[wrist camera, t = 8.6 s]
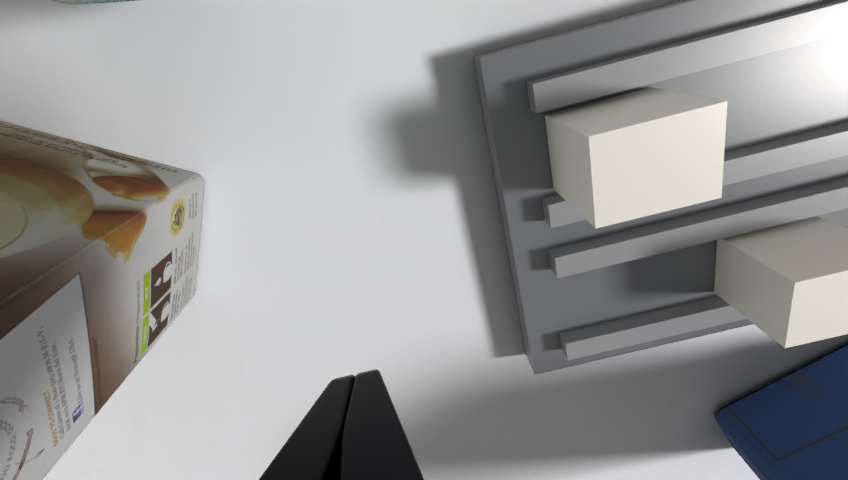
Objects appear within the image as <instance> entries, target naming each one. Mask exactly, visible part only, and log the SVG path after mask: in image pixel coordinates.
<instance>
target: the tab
mask: <svg viewBox="0 0 848 480" xmlns="http://www.w3.org/2000/svg"><path fill="white" fill-rule="evenodd" d="M714 293H715V294H717V295H718V296H719V297H720V298H722V299H723V300H724V301H725V302H727V303H728V304H729V305H730V306H732V307H733V308H734V309H736V310H737V311H738V312H739V313H741V314H742V315H743V316H744V317H746V318H747V319H748V320H749V321H751V322H752V323H753V324H755V325H756V326H757V327H758V328H760V329H761V330H762V331H763V332H765V333H766V334H767V335H768V336H770V337H771V338H772V339H774V340H775V341H776V342H777V343H779V344H780V345H781V346H782V347H784V348H789V347H793V346H797V345H802V344H806V343H811V342H815V341H819V340H824V339H828V338H833V337H837V336H841V335H846V334H848V229H847V228H844V227H842V226H840V225H837V224H835V223H832V222H830V221H828V220H825V219H823V218H820V217H818V216H814V217H810V218H806V219H802V220H797V221H793V222H789V223H785V224H781V225H777V226H773V227H768V228H764V229H760V230H756V231H752V232H748V233H743V234H739V235H735V236H731V237H727V238H723V239H719V240H717V248H716V265H715V282H714Z"/></svg>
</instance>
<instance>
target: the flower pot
mask: <svg viewBox="0 0 848 480" xmlns="http://www.w3.org/2000/svg"><path fill="white" fill-rule="evenodd" d="M54 1H57V2H61V3H66V4H74V5H76V4H86V3H108V2H121V1H135V0H54Z"/></svg>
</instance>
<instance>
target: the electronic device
mask: <svg viewBox="0 0 848 480" xmlns="http://www.w3.org/2000/svg"><path fill="white" fill-rule="evenodd" d="M715 419H716V420H717V422H718V424H719V425H720V427H721V428H722V430H723V432H724V433H725V435H726V437H727V438H728V440H729V441H730V443H731V445H732V446H733V448H734V449H735V450H736V451H737V452H738V454H739V455H740V456H741V457H742V458H743V460H744V461H745V462H746V463H747V464H748V466H749V467H750V468H751V469H752V470H753V472H754V473H755V474H756V475H757V477H758V478H759V479H760V480H848V345H847V346H845V347H843V348H841V349H839V350H837V351H835V352H833V353H831V354H829V355H827V356H825V357H823V358H821V359H819V360H817V361H816V362H814V363H812V364H810V365H808V366H806V367H804V368H802V369H800V370H798V371H796V372H794V373H792V374H790V375H788V376H786V377H784V378H782V379H780V380H778V381H776V382H774V383H772V384H770V385H768V386H766V387H765V388H763V389H761V390H759V391H757V392H755V393H753V394H751V395H749V396H747V397H745V398H743V399H741V400H739V401H737V402H735V403H733V404H731V405H729V406H727V407H725V408H723V409H722V410H721V411H720V412H719V413H717V414H716V415H715Z"/></svg>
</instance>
